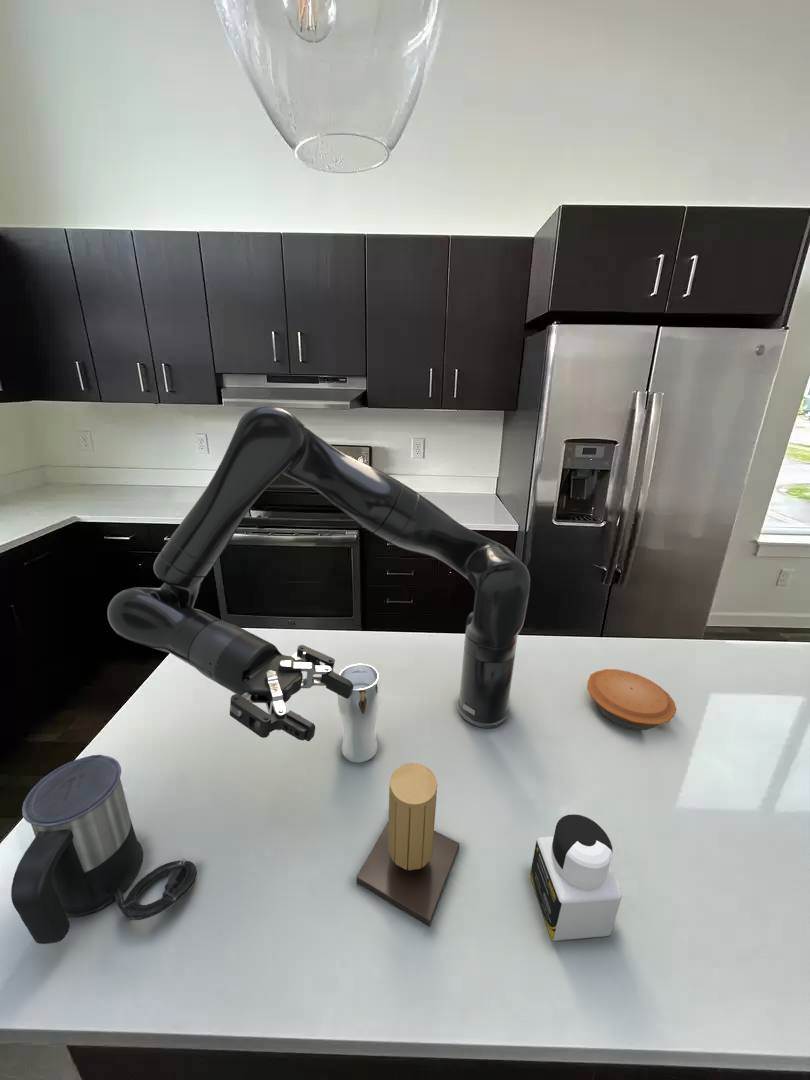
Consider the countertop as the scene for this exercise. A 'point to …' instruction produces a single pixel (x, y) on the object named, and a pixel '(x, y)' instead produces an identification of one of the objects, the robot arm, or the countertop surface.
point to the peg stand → (409, 877)
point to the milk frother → (85, 852)
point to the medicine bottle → (575, 880)
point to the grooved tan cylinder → (411, 815)
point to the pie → (630, 699)
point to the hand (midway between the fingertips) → (333, 711)
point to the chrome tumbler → (360, 712)
